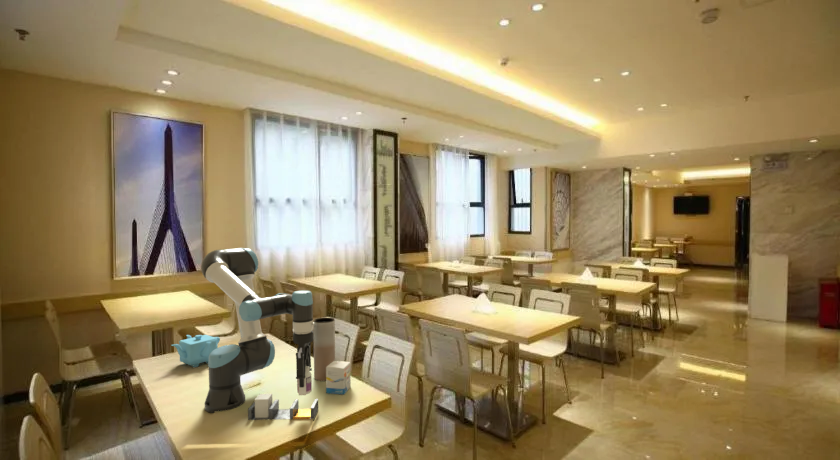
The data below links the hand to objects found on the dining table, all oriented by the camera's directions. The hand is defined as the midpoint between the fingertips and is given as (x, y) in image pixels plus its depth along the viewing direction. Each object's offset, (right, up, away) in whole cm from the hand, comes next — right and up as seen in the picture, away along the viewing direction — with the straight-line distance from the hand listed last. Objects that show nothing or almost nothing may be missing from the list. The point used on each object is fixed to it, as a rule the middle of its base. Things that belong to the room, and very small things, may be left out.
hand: (304, 391), depth 161 cm
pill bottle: (0, -1, 0) cm, 1 cm away
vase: (-1, -9, +39) cm, 40 cm away
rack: (-8, -10, 0) cm, 13 cm away
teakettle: (-73, -8, +59) cm, 94 cm away
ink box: (+8, -9, +25) cm, 28 cm away
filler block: (-16, -9, 0) cm, 18 cm away
